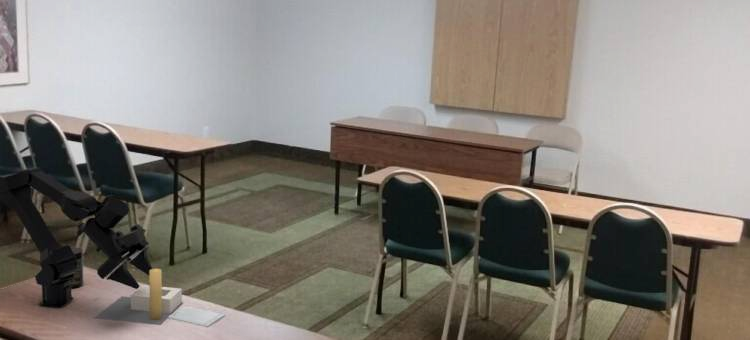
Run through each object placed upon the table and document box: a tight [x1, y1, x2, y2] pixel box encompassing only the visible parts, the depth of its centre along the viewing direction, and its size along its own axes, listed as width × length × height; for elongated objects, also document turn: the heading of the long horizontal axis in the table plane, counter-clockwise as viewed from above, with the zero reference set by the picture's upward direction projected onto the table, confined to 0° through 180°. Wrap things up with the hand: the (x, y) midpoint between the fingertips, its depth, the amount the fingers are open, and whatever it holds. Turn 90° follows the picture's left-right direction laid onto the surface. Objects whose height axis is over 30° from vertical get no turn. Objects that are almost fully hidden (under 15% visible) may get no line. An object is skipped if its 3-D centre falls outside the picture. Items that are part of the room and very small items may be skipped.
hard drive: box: [167, 306, 226, 328], centre depth 195 cm, size 2×8×12 cm
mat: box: [94, 295, 184, 326], centre depth 197 cm, size 18×16×1 cm
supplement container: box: [68, 246, 85, 290], centre depth 212 cm, size 7×7×10 cm
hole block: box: [130, 284, 183, 313], centre depth 200 cm, size 11×8×4 cm
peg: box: [148, 268, 163, 320], centre depth 191 cm, size 3×3×13 cm
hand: (146, 281), depth 191 cm, fingers open, 9 cm apart
